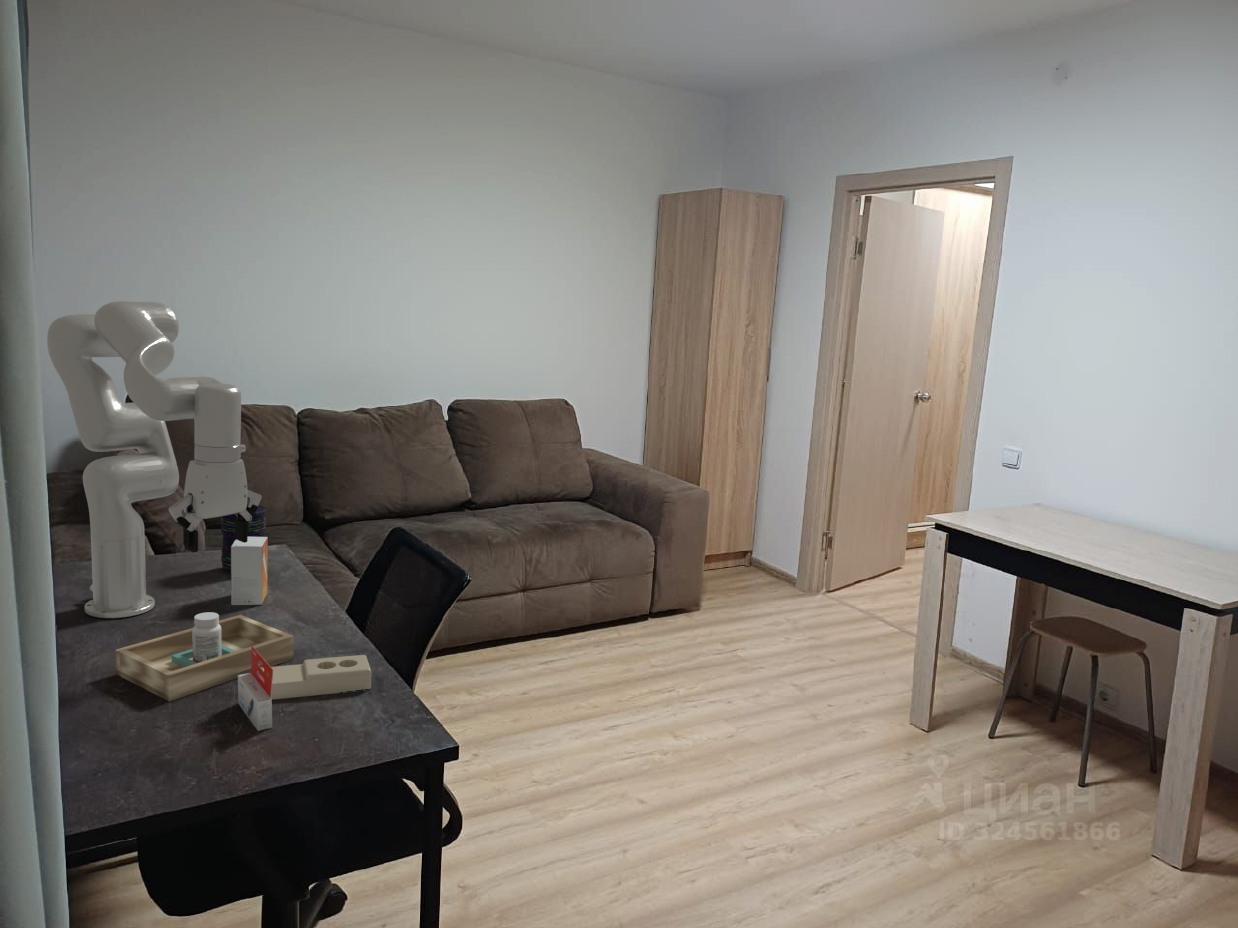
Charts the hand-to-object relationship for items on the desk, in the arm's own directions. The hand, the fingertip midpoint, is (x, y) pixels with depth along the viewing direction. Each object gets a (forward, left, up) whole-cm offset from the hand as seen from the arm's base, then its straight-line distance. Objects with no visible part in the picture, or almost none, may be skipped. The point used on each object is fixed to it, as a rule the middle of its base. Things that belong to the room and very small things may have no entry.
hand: (216, 545), depth 167 cm
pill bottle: (+4, -5, -20) cm, 21 cm away
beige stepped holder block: (+25, +2, -21) cm, 33 cm away
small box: (-20, +21, -21) cm, 36 cm away
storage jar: (-38, +32, -21) cm, 54 cm away
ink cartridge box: (+27, -11, -21) cm, 36 cm away
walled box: (+5, -5, -20) cm, 21 cm away
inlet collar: (+5, -5, -20) cm, 21 cm away
